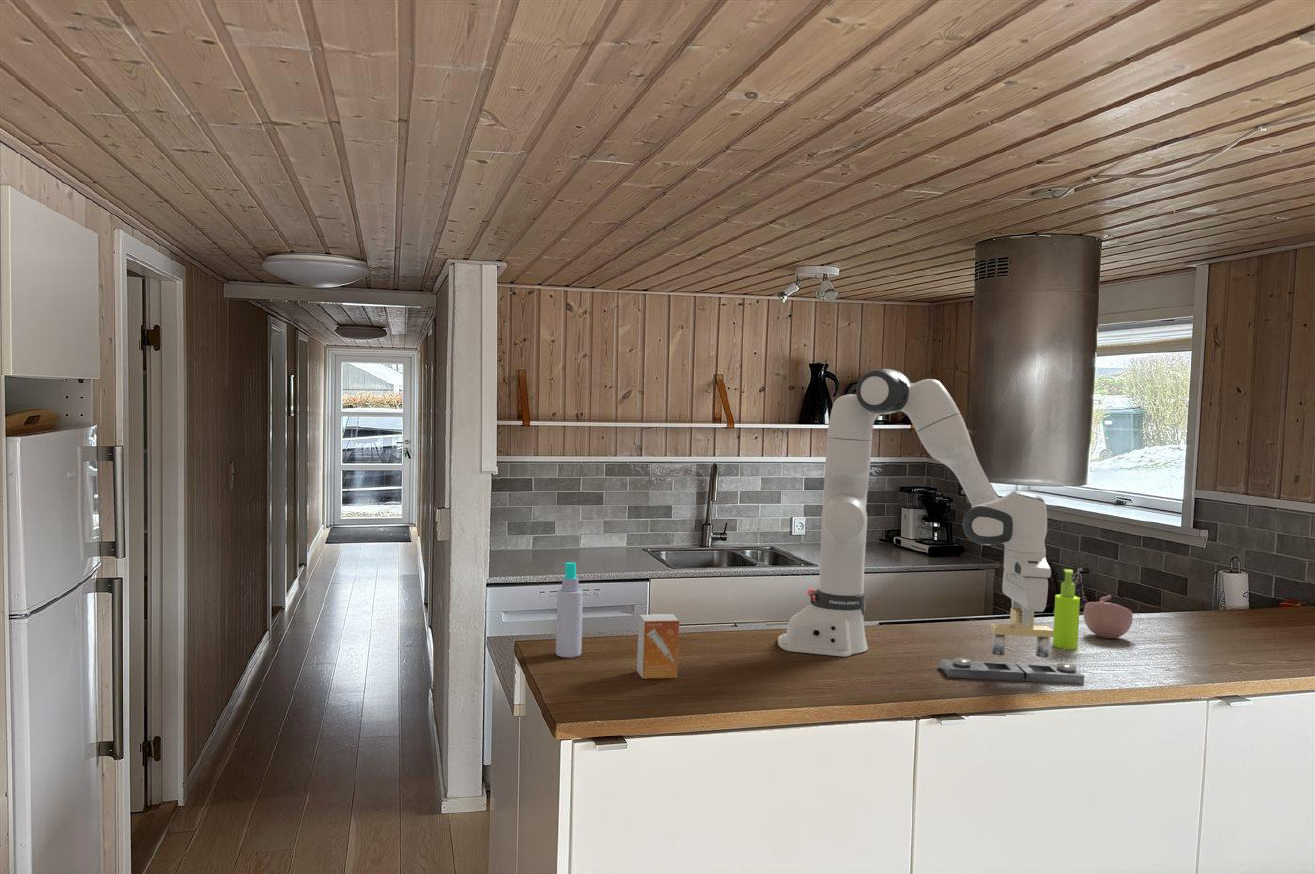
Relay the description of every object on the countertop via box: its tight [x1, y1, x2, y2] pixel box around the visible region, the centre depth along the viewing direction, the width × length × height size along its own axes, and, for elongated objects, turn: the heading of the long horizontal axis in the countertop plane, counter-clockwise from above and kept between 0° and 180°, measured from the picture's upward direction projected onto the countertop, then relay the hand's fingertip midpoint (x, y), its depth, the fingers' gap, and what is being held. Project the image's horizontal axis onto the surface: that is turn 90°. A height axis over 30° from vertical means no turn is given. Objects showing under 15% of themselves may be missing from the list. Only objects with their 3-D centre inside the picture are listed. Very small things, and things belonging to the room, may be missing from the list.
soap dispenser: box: [1052, 568, 1081, 650], centre depth 241 cm, size 6×7×20 cm
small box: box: [636, 613, 680, 680], centre depth 206 cm, size 8×6×13 cm
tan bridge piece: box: [989, 607, 1054, 659], centre depth 213 cm, size 13×4×10 cm, turn 86°
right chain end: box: [1014, 662, 1085, 685], centre depth 213 cm, size 13×8×3 cm, turn 86°
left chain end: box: [939, 657, 1025, 682], centre depth 214 cm, size 17×8×3 cm, turn 86°
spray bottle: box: [555, 561, 584, 659], centre depth 219 cm, size 6×6×22 cm
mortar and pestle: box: [1083, 594, 1134, 640], centre depth 251 cm, size 12×12×12 cm
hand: (1021, 622), depth 213 cm, fingers closed on tan bridge piece, 4 cm apart
